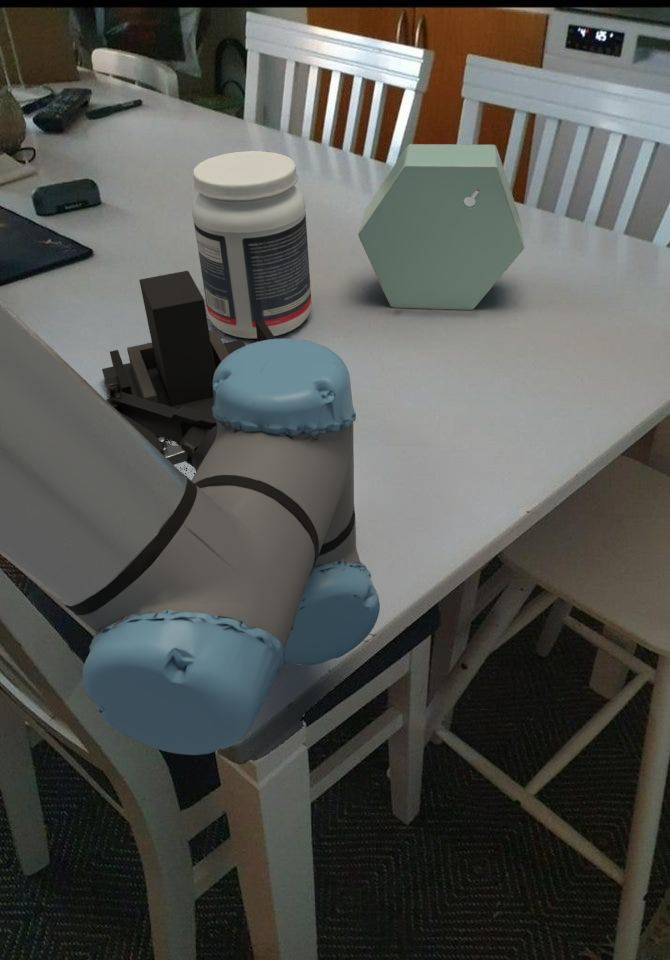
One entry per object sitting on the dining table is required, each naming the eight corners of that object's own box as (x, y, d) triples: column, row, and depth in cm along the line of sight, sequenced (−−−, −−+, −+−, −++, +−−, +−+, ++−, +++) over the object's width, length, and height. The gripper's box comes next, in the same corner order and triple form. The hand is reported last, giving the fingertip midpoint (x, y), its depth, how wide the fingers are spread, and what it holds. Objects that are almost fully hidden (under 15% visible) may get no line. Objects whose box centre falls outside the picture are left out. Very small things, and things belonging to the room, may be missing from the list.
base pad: (125, 450, 80) (117, 417, 77) (104, 380, 90) (96, 348, 88) (279, 413, 84) (276, 380, 81) (243, 350, 94) (239, 319, 92)
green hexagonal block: (447, 313, 109) (551, 185, 97) (446, 342, 103) (557, 209, 91) (341, 245, 105) (436, 102, 92) (333, 270, 99) (434, 121, 86)
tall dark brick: (171, 406, 83) (152, 309, 76) (158, 373, 88) (139, 279, 81) (218, 395, 84) (204, 299, 77) (202, 363, 89) (188, 270, 82)
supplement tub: (318, 295, 104) (311, 147, 93) (304, 345, 94) (294, 188, 83) (221, 293, 106) (201, 147, 94) (197, 342, 96) (171, 187, 84)
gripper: (96, 565, 59) (63, 412, 74) (408, 479, 65) (318, 354, 81) (71, 485, 54) (41, 339, 69) (411, 401, 60) (314, 285, 76)
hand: (190, 347), depth 75 cm, fingers open, 13 cm apart
